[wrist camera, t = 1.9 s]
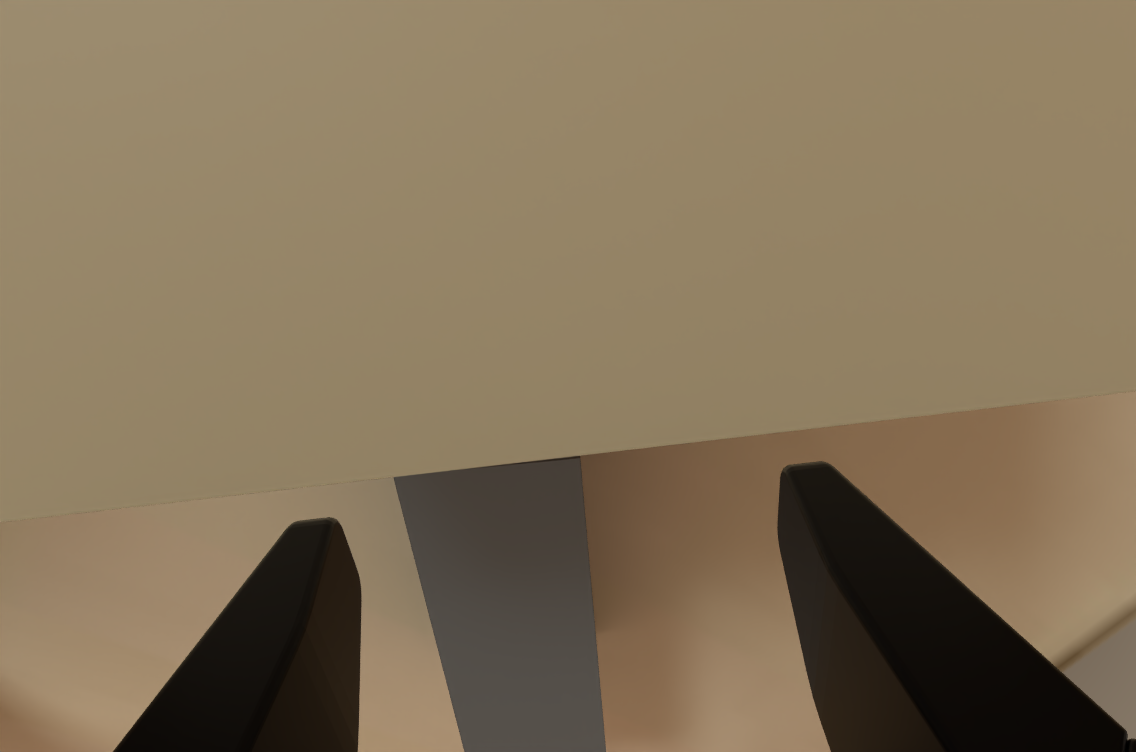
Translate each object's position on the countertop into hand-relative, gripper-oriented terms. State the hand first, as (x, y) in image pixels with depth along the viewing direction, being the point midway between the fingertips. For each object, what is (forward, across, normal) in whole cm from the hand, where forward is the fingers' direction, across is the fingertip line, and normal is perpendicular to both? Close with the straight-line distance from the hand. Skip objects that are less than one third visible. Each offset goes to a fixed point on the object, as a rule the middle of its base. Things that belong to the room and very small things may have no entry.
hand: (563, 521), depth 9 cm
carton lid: (+5, 0, -3) cm, 6 cm away
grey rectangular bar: (+13, +2, +14) cm, 19 cm away
